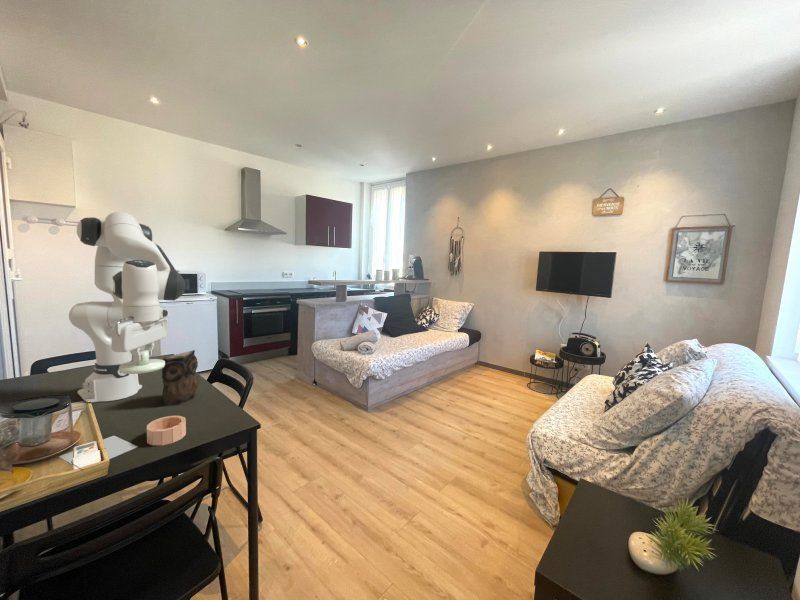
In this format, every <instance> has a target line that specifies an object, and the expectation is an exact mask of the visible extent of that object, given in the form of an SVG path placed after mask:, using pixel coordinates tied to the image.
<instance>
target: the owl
mask: <svg viewBox="0 0 800 600" xmlns="http://www.w3.org/2000/svg"><path fill="white" fill-rule="evenodd" d="M195 352H196V350H195V349H192V350H190V351H186V352H180V353H178V354H174V355H171V356H168V357H164V358H163V359H162V360H164V361H165V367H164V368H162V369H161V379H162V383H163V387H162V398H163V402H164V406H165V407H172V406H178V405H182V404H183V403H186V402H189V401H190V400H193V399H195V396H196V395H197V391H198V388H199V384H200V379H199V375H198V374H197V373H196V372H197V369H198V366H199V365H198V363H199V362H198V358H197V357H196V355H195Z"/></svg>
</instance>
